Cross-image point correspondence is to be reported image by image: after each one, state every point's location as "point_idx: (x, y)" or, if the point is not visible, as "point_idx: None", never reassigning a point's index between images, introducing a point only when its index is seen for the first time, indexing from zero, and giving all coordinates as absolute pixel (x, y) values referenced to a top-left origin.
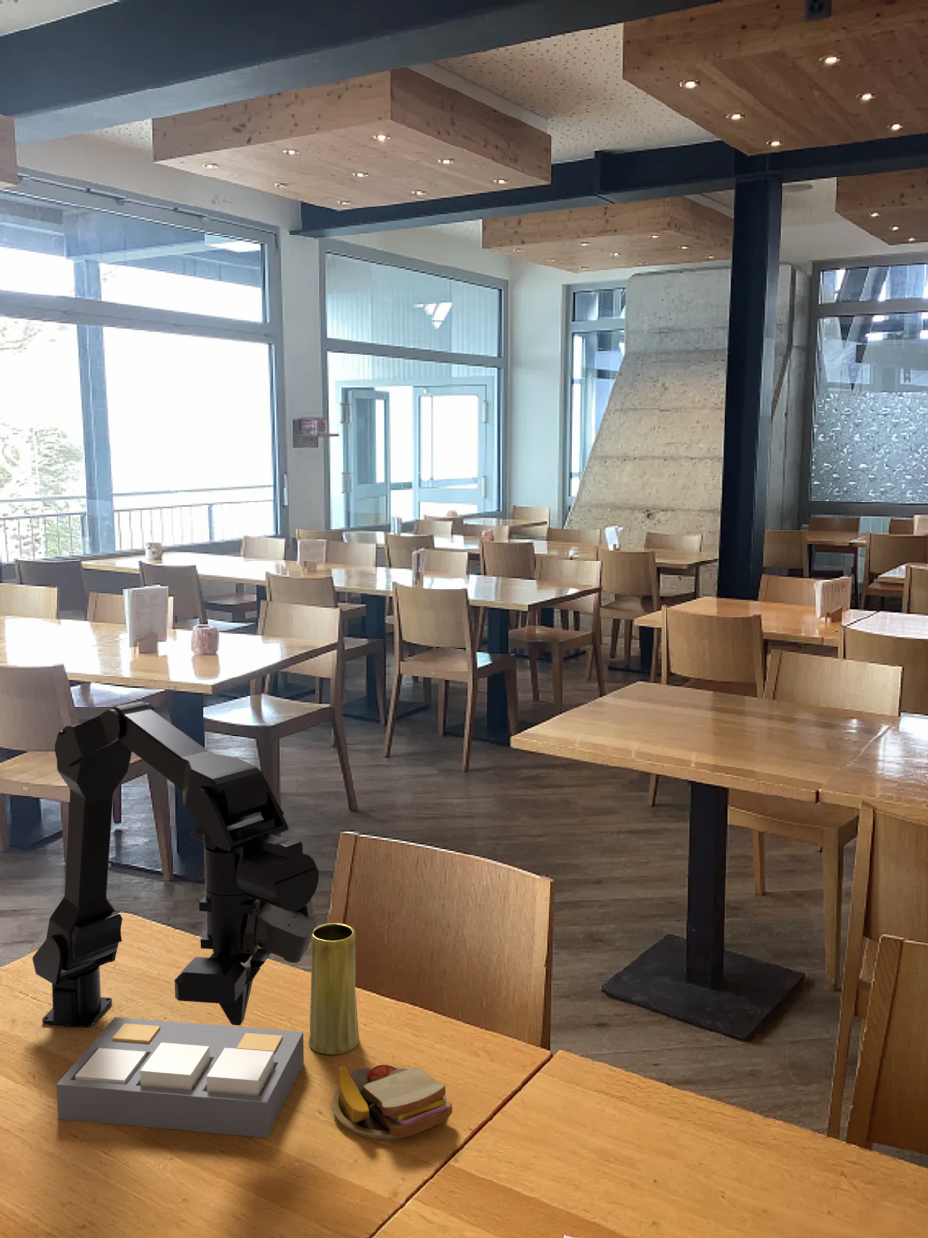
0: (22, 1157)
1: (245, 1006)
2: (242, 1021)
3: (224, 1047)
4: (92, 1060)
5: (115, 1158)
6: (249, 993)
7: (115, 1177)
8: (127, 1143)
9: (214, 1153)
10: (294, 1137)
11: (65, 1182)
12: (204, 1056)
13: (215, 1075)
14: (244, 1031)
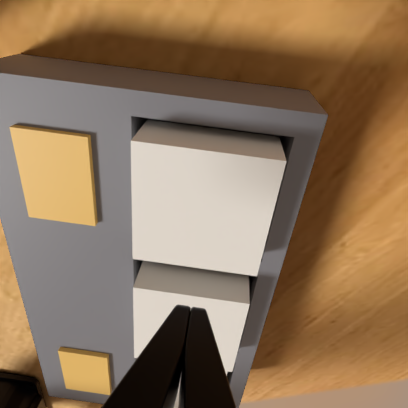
0: (308, 385)
1: (172, 361)
2: (189, 311)
3: (92, 247)
4: (174, 405)
5: (328, 309)
6: (120, 402)
7: (374, 302)
8: (293, 302)
9: (342, 184)
10: (312, 23)
11: (369, 346)
12: (164, 287)
13: (255, 261)
14: (18, 218)
